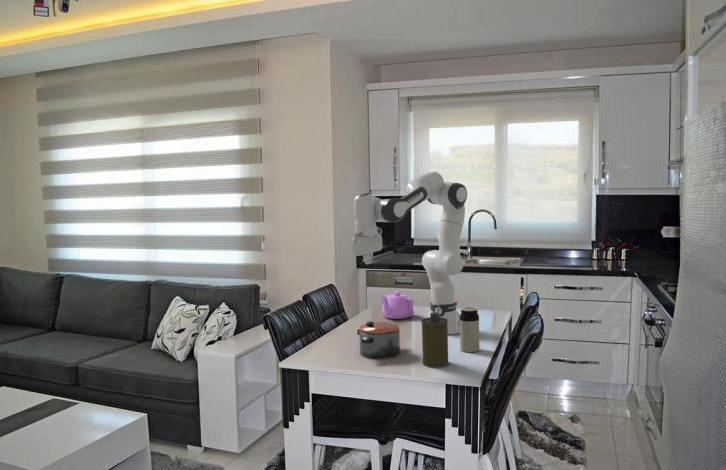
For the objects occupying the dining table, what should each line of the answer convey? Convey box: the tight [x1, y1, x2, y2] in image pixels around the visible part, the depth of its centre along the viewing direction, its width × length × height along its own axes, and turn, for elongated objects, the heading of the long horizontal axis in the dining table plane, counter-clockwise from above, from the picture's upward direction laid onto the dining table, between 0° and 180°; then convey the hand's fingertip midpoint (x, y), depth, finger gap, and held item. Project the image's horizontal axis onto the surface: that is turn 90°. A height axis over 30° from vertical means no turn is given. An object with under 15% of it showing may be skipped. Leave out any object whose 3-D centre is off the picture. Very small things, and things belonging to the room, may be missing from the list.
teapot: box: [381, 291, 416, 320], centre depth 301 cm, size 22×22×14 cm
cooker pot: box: [356, 328, 401, 360], centre depth 235 cm, size 25×18×10 cm
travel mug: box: [459, 305, 480, 353], centre depth 235 cm, size 8×8×18 cm
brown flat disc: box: [359, 320, 400, 335], centre depth 235 cm, size 17×17×3 cm
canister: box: [420, 313, 450, 369], centre depth 218 cm, size 11×10×20 cm
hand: (368, 263), depth 237 cm, fingers closed
